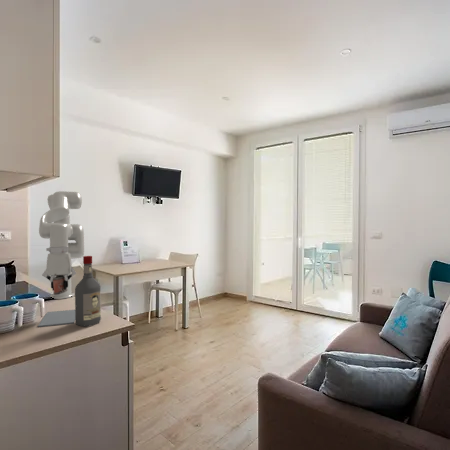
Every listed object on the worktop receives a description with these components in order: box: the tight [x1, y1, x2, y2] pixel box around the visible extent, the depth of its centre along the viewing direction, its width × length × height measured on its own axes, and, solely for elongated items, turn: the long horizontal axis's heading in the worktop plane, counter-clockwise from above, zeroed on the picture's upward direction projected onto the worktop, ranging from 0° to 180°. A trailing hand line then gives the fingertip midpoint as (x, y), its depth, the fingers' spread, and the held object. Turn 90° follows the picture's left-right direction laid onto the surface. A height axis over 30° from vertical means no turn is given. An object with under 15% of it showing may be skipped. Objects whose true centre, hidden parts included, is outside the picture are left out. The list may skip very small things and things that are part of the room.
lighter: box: [53, 274, 67, 295], centre depth 146 cm, size 8×3×10 cm, turn 174°
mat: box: [37, 309, 75, 328], centre depth 147 cm, size 20×14×1 cm
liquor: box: [74, 255, 102, 328], centre depth 140 cm, size 9×9×30 cm
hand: (59, 288), depth 146 cm, fingers closed on lighter, 4 cm apart
